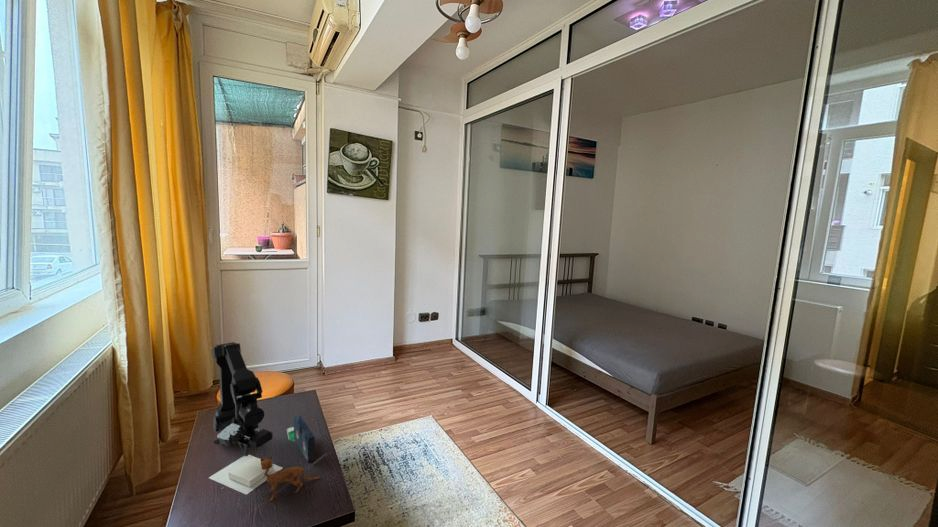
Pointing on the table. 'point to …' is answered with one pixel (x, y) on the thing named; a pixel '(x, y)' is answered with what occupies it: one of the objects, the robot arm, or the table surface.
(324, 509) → the table surface
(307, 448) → the vhs cassette tape
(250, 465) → the tile
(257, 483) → the mat
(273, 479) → the cat figurine
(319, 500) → the table surface
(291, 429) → the smartphone
